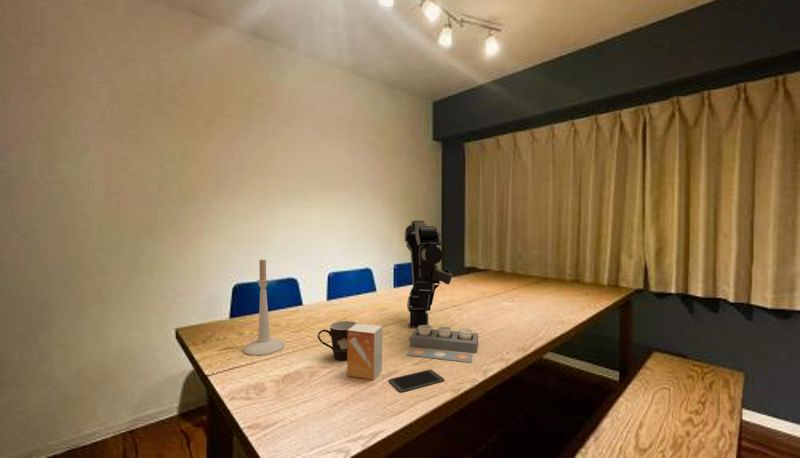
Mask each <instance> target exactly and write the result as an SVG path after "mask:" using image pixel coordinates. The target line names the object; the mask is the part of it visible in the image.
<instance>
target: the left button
mask: <svg viewBox="0 0 800 458" xmlns="http://www.w3.org/2000/svg"><path fill="white" fill-rule="evenodd" d="M417 328H418V329H419V335H420V336H430V329H432V326H431V325H429V324H427V325H420V326H418V327H417Z"/></svg>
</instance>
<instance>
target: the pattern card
mask: <svg viewBox="0 0 800 458" xmlns="http://www.w3.org/2000/svg"><path fill="white" fill-rule="evenodd" d="M406 356H407V357H415V358H416V357H417V358H423V359H424V358H425V359H432V360H441V361H451V362H459V363H467V364H468V363H469V364H472V362H473V353H467V352H458V351H449V350H439V349H430V348H421V347H410V349H409V350H408V352H407V353H406Z"/></svg>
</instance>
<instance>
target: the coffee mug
mask: <svg viewBox="0 0 800 458" xmlns="http://www.w3.org/2000/svg"><path fill="white" fill-rule="evenodd" d="M355 324H358V323H357V322H356V321H352V320H339V321H336V322H332V323H331V324H330V325H329V328H330V329H329V330H328V329H321V330H319V332H318V333H317V339H318V340H319V342H321V344H322V345H324V346H326V347H327V348H329V349H331V350H332V353H333V359H334V360H336V361H338V362H347V350H348V348H347V342H348V329H350V328H351V327H352V326H354V325H355ZM323 332H324V333H327V334H329V336H330V338H331V345H330V344H328V343H326V342H325V341H323V340H322V339H321V337H320V335H321V333H323Z"/></svg>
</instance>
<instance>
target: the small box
mask: <svg viewBox="0 0 800 458" xmlns="http://www.w3.org/2000/svg"><path fill="white" fill-rule="evenodd" d="M347 348H348V350H347V361H346V362H347V364H346V365H347V371H346V372H347V375H346V376H348V377H353V378H360V379H365V380H372V381H375V380H376V379H377V377H378V376H379V375H380V374H381V373H382V371H383V326H382V325H374V324H368V323H367V324H365V323H363V324H362V323H357V324H355V325H354V326H352V327H351V328H350V329H348V342H347Z"/></svg>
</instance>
